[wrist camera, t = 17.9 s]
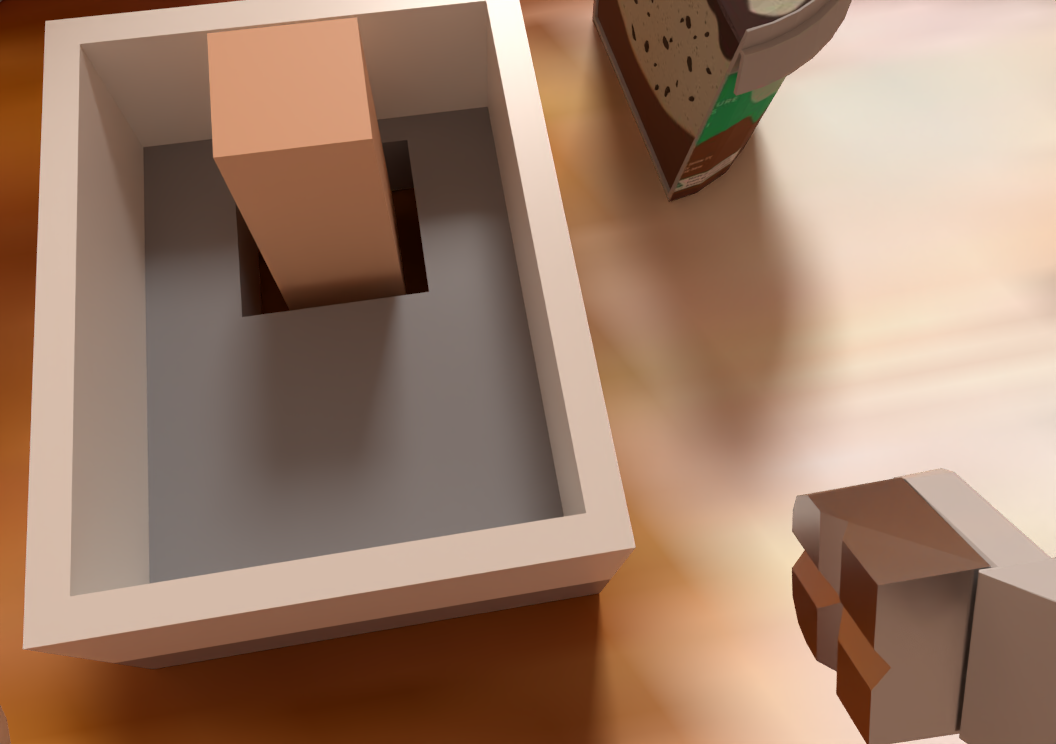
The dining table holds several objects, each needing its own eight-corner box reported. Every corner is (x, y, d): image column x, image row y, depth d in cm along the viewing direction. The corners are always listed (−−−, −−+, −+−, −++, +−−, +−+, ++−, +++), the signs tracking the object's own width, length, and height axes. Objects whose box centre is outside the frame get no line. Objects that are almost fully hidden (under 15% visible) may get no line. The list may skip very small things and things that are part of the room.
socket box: (509, 132, 35) (513, -28, 27) (599, 593, 28) (635, 547, 21) (145, 176, 34) (45, 21, 26) (152, 669, 27) (22, 649, 20)
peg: (395, 213, 33) (356, 17, 24) (408, 308, 32) (372, 138, 23) (288, 227, 33) (207, 33, 24) (296, 323, 32) (213, 157, 22)
